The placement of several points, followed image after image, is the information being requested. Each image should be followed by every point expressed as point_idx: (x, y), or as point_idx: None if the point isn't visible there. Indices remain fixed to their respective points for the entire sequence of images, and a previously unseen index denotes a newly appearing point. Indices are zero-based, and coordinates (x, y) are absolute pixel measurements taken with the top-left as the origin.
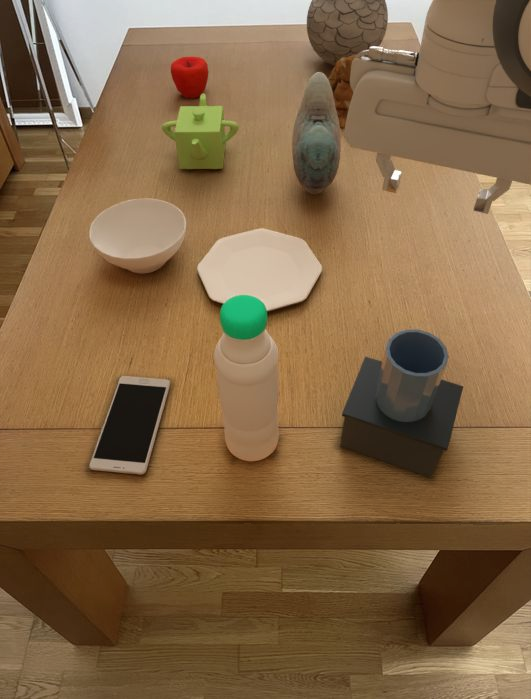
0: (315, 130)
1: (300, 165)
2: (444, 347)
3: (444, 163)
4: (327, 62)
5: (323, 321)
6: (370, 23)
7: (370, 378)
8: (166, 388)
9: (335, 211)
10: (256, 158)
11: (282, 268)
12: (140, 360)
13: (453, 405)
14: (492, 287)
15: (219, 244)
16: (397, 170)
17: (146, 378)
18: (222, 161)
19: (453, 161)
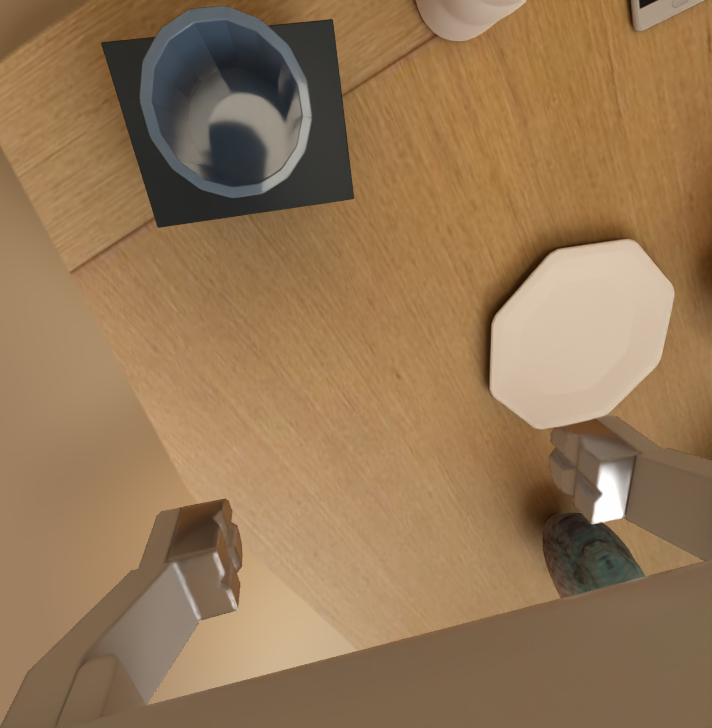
0: None
1: (616, 538)
2: (175, 164)
3: (484, 647)
4: None
5: (446, 302)
6: None
7: (321, 147)
8: (638, 6)
9: (510, 505)
10: (650, 532)
11: (545, 364)
12: (695, 54)
13: (149, 168)
14: (246, 497)
15: (655, 352)
16: (611, 519)
17: (678, 9)
18: None
19: (434, 698)
